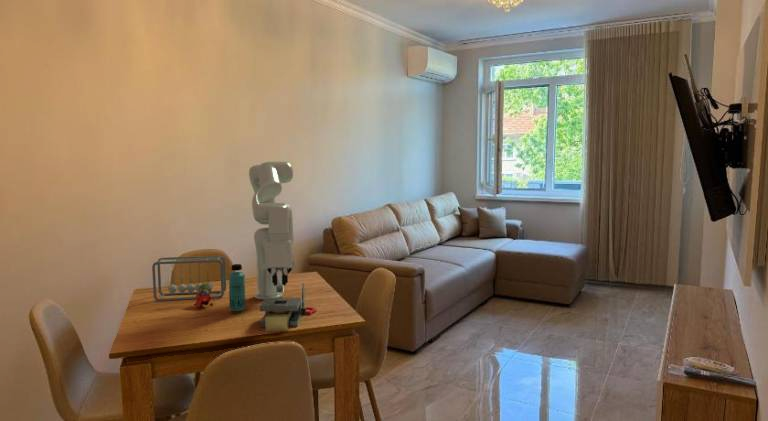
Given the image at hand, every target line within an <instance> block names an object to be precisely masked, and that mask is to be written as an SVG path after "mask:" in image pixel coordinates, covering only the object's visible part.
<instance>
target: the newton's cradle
mask: <svg viewBox="0 0 768 421" xmlns="http://www.w3.org/2000/svg"><path fill="white" fill-rule="evenodd" d="M201 263H202V264H203V263H205V264H208V263H219V264H220V266H219V268H220V290H213V284H212V283H211V282H209V281H210V280H209V279H207V283H208V288H209V287H210V289H211V294H218V295H210V297H211V298H215V299H221V298H223V297H224V294H225V292H226V290H227V274H226V273H227V271H226V258H225V257H224V256H222V255H206V256H205V255H201V256H200V255H199V256H176V257H174V256H173V257H169V256H168V257H160V258H159V259H158V260H157V261H155V262H154V263H152V266H151V268H152V272H151V274H152V287H153V288H152V289H153V292H152V293H153V298H154V300H155V301H157V302H166V301H170V302H171V300H172V301H187V300H188V301H189V300H191V301H192V300H196V296H189V295H197V294H198V293H199V288H200V286H201V285H202V284H203V283H201V275H200V274H201V269H200V268H201V266H200V264H201ZM175 264H176V265H178V264H179V265H180V264H198V268H197V270H198V271H197V272H198V273H197V274H198V283H197V284H196V285H195V284H193V283H192V279H189V282H190V283H188V284H187V285H186V284H184V283H183V278H180V279H181V280H180V282H181V284H179V285H178V286H176V285H175V284H174V282H173V281H174V273H173V271H170V273H171V274H170V275H171V284H170V285H168V287H167V291H168V292H162V279H161V277H162V276H161V265H175ZM156 266H157V278H156ZM188 269H189V274H191V267H188ZM179 270H180V273H182V267H179ZM206 272H207V273H206V274H207V277H206V278H209V271H206ZM156 280H157V282H156ZM157 286H158V287H157ZM157 288H158V294H160V295H161V297H160V298H158V296H157ZM176 291H178V292H176ZM166 295H167V296H183V295H184V296H185V295H187V296H188V297H187V296H186V297H184V296H183V297H167V296H166ZM164 296H166V297H167V298H164Z"/></svg>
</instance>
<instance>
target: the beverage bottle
mask: <svg viewBox="0 0 768 421" xmlns="http://www.w3.org/2000/svg"><path fill="white" fill-rule="evenodd" d="M242 270H243V267H242V264H241V263H236V264H235V263H234V264H231V271H233V272H231V273H230V274H229V275H228V284H229V285H228V286H229V288H228V290H229V291H228V297H229V298H228V300H229V310H230V311H235V312H237V311H243V310H245V309H246V282H245V281H246V280H245V279H246V278H245V276H246V275H245V273H244V272H242Z"/></svg>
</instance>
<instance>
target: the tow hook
mask: <svg viewBox="0 0 768 421" xmlns="http://www.w3.org/2000/svg"><path fill="white" fill-rule="evenodd" d="M301 284H302V285H301V286H302V287H301V316H303V315H307V316H311V315H312V314H313V313H316V312H317V308H316V307H313V306H306V299H305V298H306V296H305V294H306V290H305V289H306V288H305V282H302V283H301Z"/></svg>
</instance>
